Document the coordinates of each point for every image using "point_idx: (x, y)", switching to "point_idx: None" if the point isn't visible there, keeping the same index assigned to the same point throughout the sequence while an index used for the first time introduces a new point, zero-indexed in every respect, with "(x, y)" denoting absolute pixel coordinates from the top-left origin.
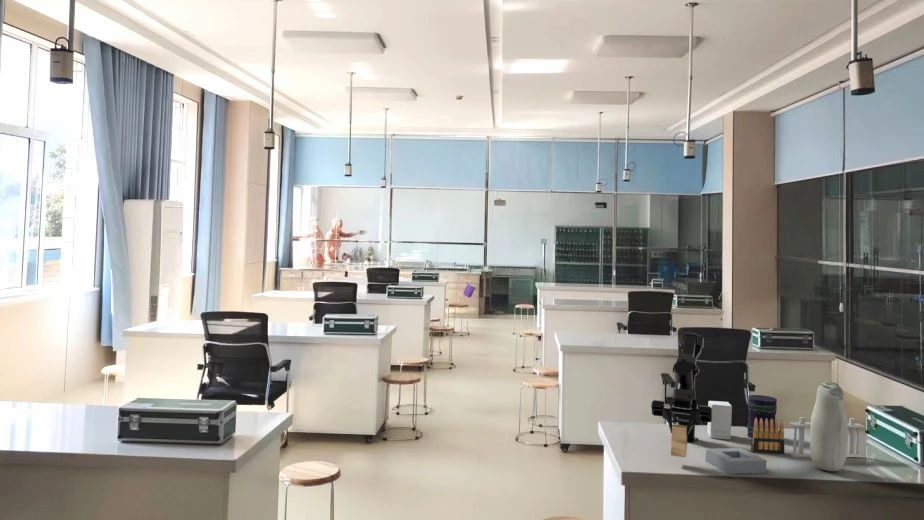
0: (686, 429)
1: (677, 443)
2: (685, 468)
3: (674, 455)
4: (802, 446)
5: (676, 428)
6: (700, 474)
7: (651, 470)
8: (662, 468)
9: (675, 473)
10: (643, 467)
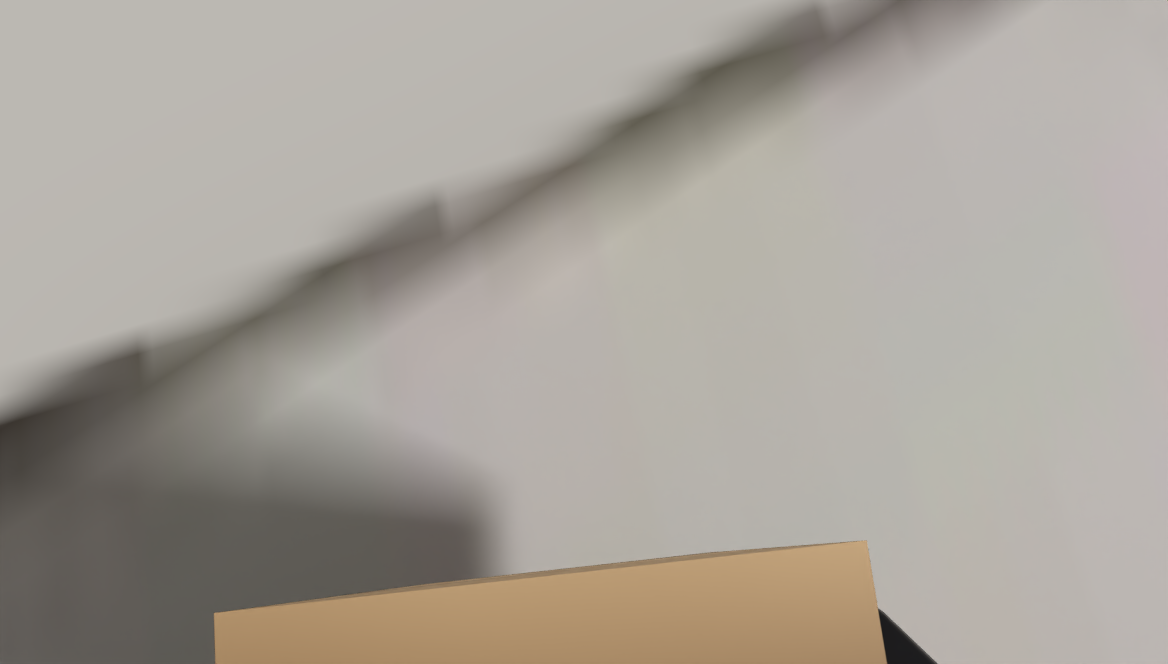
0: (218, 645)
1: (589, 567)
2: (441, 567)
3: (639, 560)
4: None
5: (662, 567)
6: (182, 396)
7: (884, 145)
8: (768, 339)
9: (538, 217)
10: (1031, 213)
